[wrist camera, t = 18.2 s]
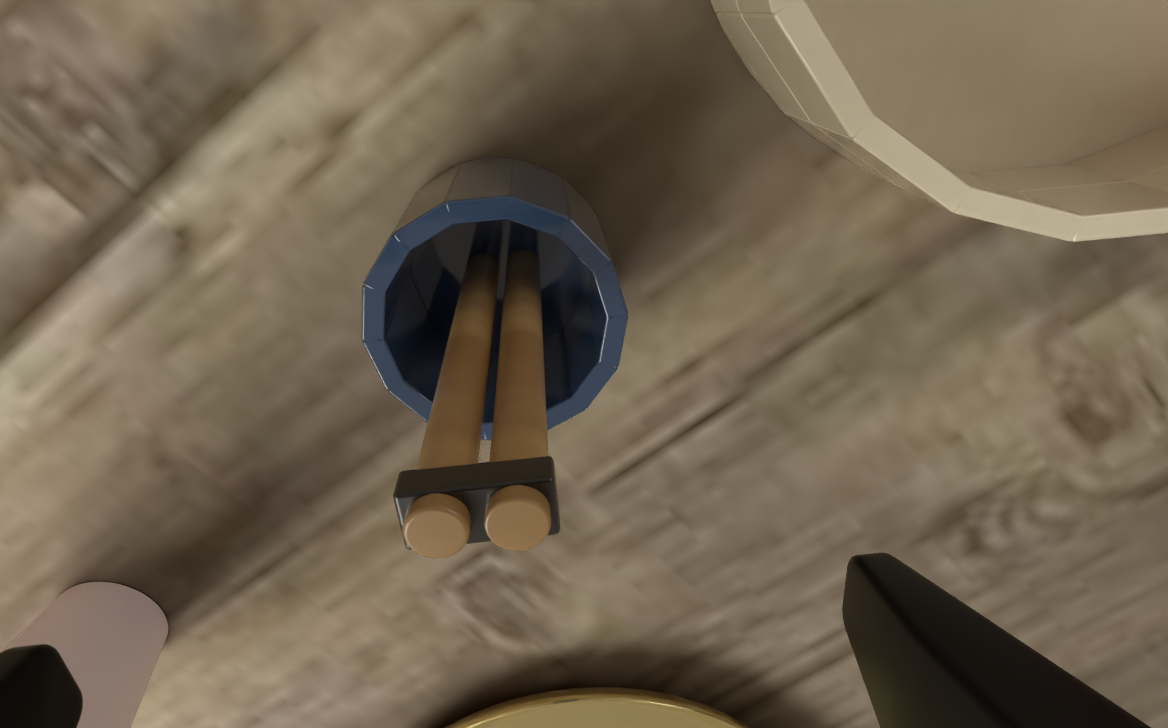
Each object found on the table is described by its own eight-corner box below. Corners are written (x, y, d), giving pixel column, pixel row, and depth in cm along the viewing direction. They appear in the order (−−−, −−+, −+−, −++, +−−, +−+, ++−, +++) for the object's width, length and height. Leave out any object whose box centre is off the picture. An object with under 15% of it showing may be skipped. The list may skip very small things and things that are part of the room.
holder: (613, 347, 21) (634, 426, 17) (414, 367, 21) (387, 451, 17) (601, 147, 18) (621, 184, 14) (373, 167, 18) (330, 211, 14)
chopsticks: (544, 279, 20) (561, 549, 10) (465, 287, 19) (401, 567, 10) (541, 244, 19) (555, 491, 9) (460, 252, 19) (386, 509, 9)
